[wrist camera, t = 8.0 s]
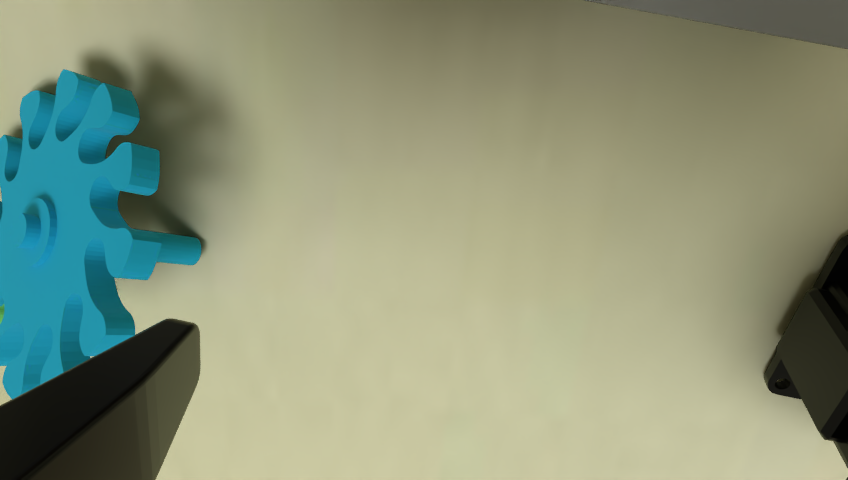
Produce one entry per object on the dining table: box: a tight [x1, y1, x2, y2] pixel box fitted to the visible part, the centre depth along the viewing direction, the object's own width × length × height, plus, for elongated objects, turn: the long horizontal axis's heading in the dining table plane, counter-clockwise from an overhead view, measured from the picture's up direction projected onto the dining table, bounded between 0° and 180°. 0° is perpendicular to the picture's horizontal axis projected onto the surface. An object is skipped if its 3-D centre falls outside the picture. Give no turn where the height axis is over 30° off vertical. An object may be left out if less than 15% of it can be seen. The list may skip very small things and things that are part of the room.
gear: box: [0, 69, 201, 399], centre depth 22 cm, size 11×6×10 cm
